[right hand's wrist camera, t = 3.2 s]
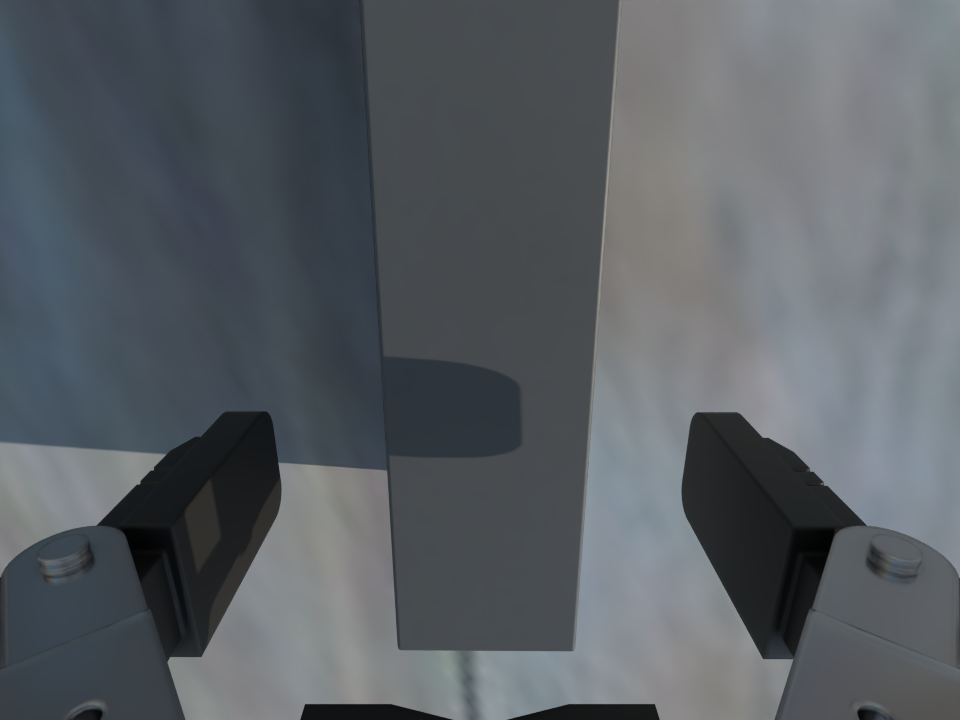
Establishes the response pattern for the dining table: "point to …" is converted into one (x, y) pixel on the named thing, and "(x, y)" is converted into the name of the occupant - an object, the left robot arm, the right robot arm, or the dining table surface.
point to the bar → (488, 304)
